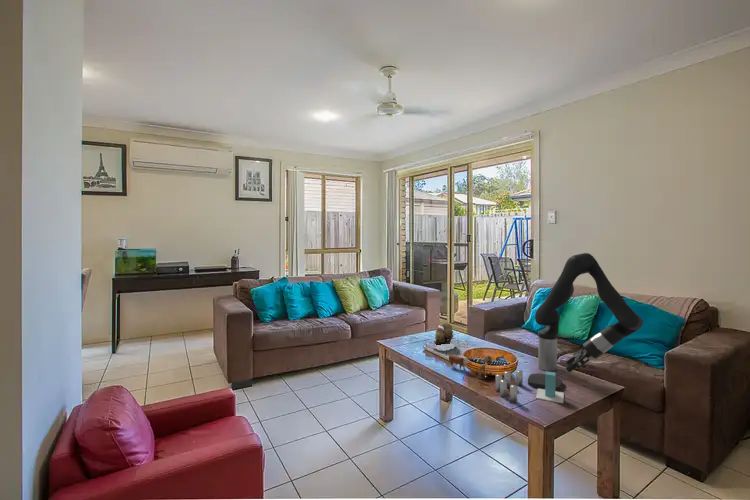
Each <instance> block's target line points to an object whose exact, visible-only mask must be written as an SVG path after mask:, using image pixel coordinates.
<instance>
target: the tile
mask: <svg viewBox="0 0 750 500" xmlns="http://www.w3.org/2000/svg"><path fill="white" fill-rule="evenodd" d="M564 395H565V393H564V392H562V391H555V398H554V397H548V396H545V389H539V388H537V390H536V396H535V399H536V400H541V401H546V402H547V401H549V402H552V403H553V402H554V403H558V404H564V397H565V396H564Z"/></svg>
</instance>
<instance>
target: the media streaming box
mask: <svg viewBox="0 0 750 500" xmlns="http://www.w3.org/2000/svg"><path fill="white" fill-rule="evenodd" d="M527 385H528V386H529V387H532V388H535V389H538V388H539V389H545V373H530V375H528V377H527ZM562 386H563V379H562V378H560V377H558V376H556V375H555V391H557V392H560V391H561V388H562Z"/></svg>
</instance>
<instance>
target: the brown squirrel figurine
mask: <svg viewBox="0 0 750 500" xmlns="http://www.w3.org/2000/svg"><path fill="white" fill-rule="evenodd" d="M441 325H442V327H440V326H439V327H437V328H436V331H435V336H434V341H433V343H434V345H435V344H436V345H441V344H450V342H452V340H453V338H454V330H453V327H452V325H451V323H448V322H446V321H444V322H442V324H441Z"/></svg>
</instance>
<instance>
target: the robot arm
mask: <svg viewBox="0 0 750 500" xmlns="http://www.w3.org/2000/svg"><path fill="white" fill-rule="evenodd" d="M587 273H588V274H589V275H590V276H591V277H592V278H593V280H594V282H595V284H596V290H597V294H598V296H599V298H600V300H601V301H602V302H603V303H604V305H605V306H606V308H608V309H609V310H610V311H611V313H612V314H613V316H614V317H615V318H616V320H617V322H615V323H614V324H610V325H608V326H606V327H604V329H602V330H601V331H599V332H598V333H596V334H594V335H593V336H592V337H590V338H589V339H587V340H586V341H584V343H582V348H581V349H579V350H577V351H576V352H575V353H573V355H572V357H571V358H569V359H567V360H566V364H567V365H568V366H566V368H565V369H566V371H567V372H568V373H572V371H574V370H575V369H580V368H581V367H583V366H584V365H585V364H587V363H588V362H589V361H590V359H589V358H590V357H592V358H593V359H598V358H599V357H600V356H603V355H604V354H605V353H606V352H608V351H609V350H610V349H611V348H612V347H613V346H615V345H616V344H618V343H619V342H620V341H622V340H623V339H624V338H627V337H629V336H630V335H633V334H634V333H635V332H637V331H639V330H640V329H641V328H642V327H643V325H644V324H643V323H644V322H643V318H642V317H641V316H640V315H638V314H637V313H636V312H635V311H634V310H633V309H632V308H631V307H630V306H629V305H628V303H627V301H626V300H625V298H624V297H622V295H621V294H620V293H619V292H618V290H617V289H616V288H615V287H614V286H613V285H612V283H611V282H610V280H609V279H608V276H607V275H606V273H605V272H604V270H603V269H602V267H601V266H600V264H599V262H598V260H596V258H595V257H594V256H593V255H592V254H590V253H589V252H584V253H579V254H574V255H571V256H570V257H568V259H567V261H566V262H565V265H564V267H563V269H562V270H561V274H560V275H559V276H558V278H557V280H556V282H555V283H554V285H553V287H552V288H551V290H550V292H549V293H548V295H547V296H546V297H545V299H544V301H542V302H541V305H540V306H539V307H538V308H537V309H536V311H535V315H534V321H535V323H536V324H537V325H539V326H546V327H544V328H543V329H540V330H539V331H538V344H537V345H538V353H537V354H538V358H537V359H538V360H537V361H538V363H537V365H538V369H540V370H541V371H545V372H546V371H547V372H555V371H557V368H558V334H559V326H560V325H559V324H560V316H559V315H560V314H559V312H558V309H559V308H561V307H562V306H564V305H565V304H566V303H568V302H569V300H570V299H571V298H572V296H573V294H574V291H575V288H574V282H575V280H576V279H577V278H578V277H579V276H581V275H584V274H587Z"/></svg>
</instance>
